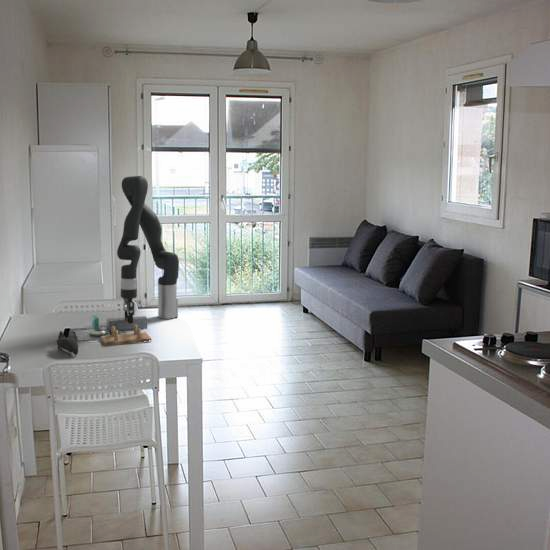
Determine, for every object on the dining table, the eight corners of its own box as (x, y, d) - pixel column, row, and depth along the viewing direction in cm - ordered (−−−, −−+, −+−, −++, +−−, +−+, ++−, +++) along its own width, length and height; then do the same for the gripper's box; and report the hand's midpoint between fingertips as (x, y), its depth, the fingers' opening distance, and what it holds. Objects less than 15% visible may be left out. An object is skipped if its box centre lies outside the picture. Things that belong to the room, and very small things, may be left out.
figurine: (53, 356, 297) (68, 358, 286) (50, 332, 297) (65, 334, 285) (70, 353, 302) (85, 355, 290) (67, 329, 302) (82, 331, 290)
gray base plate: (105, 328, 333) (105, 327, 333) (112, 338, 317) (112, 337, 317) (72, 330, 327) (72, 330, 327) (78, 341, 311) (78, 340, 311)
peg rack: (145, 335, 323) (145, 323, 322) (151, 341, 313) (151, 329, 312) (101, 339, 315) (100, 326, 314) (105, 345, 305) (105, 332, 304)
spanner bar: (144, 325, 339) (144, 315, 338) (147, 328, 334) (147, 318, 333) (107, 328, 332) (106, 318, 331) (109, 331, 327) (108, 321, 326)
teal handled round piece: (103, 326, 333) (102, 314, 332) (108, 334, 320) (108, 321, 319) (85, 328, 330) (85, 315, 328) (90, 336, 317) (90, 323, 316)
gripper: (139, 290, 325) (139, 324, 328) (133, 284, 338) (133, 317, 341) (123, 290, 322) (123, 325, 325) (118, 284, 335) (118, 318, 338)
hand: (128, 321), depth 333 cm, fingers open, 8 cm apart
